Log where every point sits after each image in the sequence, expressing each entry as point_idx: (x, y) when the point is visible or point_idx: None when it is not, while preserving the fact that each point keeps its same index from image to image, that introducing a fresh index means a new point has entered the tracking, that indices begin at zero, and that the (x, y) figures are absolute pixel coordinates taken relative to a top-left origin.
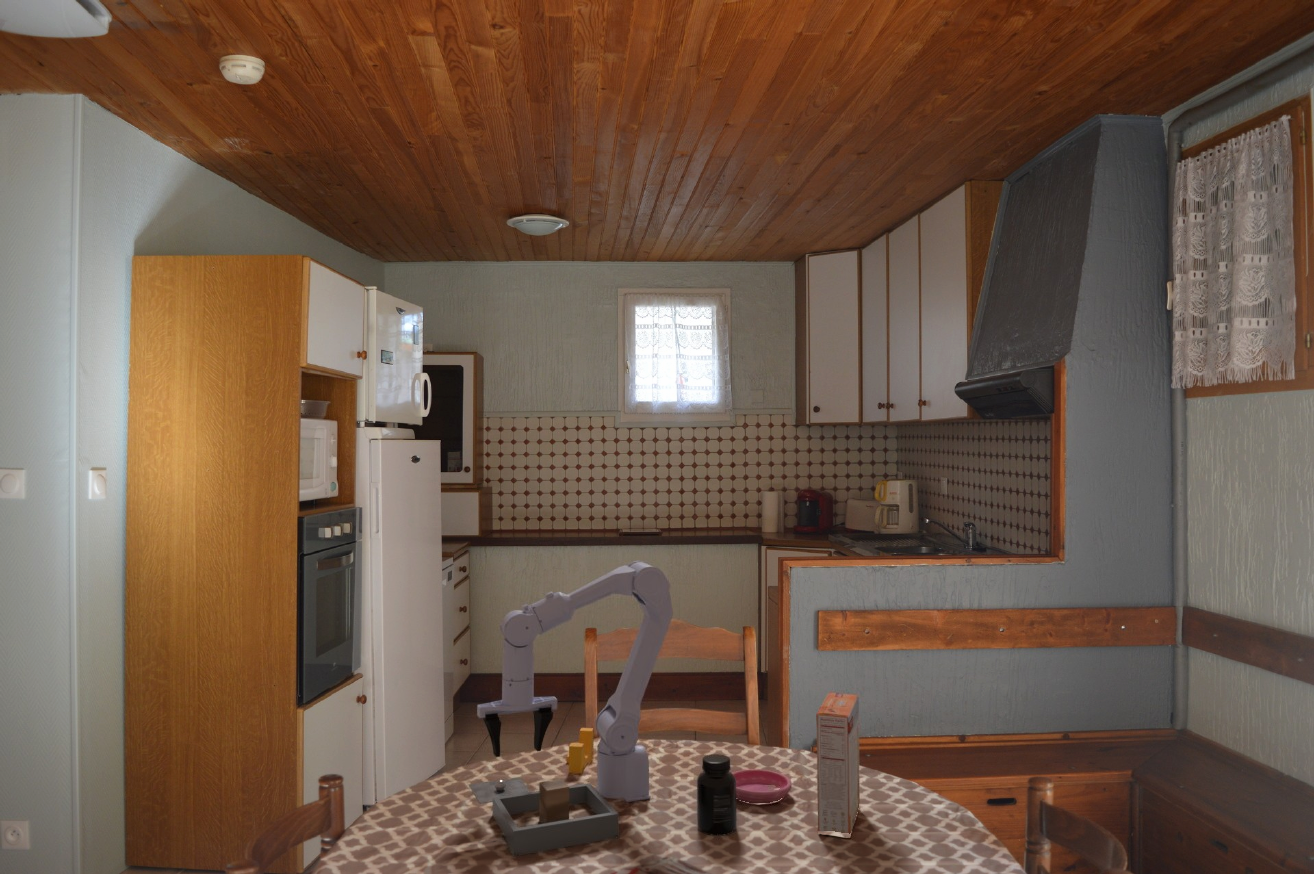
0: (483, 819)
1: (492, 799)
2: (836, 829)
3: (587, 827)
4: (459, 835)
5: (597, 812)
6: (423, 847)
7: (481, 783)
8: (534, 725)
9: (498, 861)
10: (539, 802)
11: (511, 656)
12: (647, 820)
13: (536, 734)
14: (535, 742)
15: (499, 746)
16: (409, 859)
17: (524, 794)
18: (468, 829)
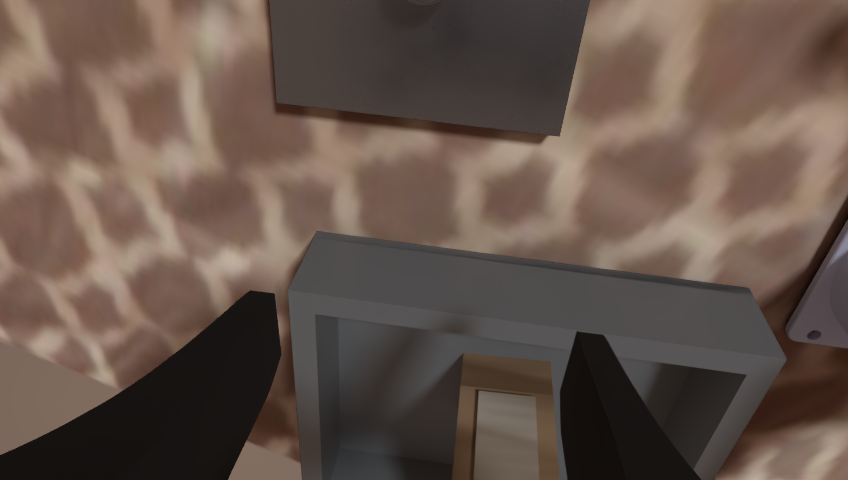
0: (285, 201)
1: (347, 84)
2: None
3: None
4: (184, 278)
5: (676, 424)
6: (69, 297)
7: None
8: (621, 466)
9: (281, 447)
10: (458, 415)
11: None
12: (814, 466)
13: (590, 457)
14: (576, 393)
15: (248, 426)
16: (39, 340)
17: (434, 325)
18: (218, 252)
